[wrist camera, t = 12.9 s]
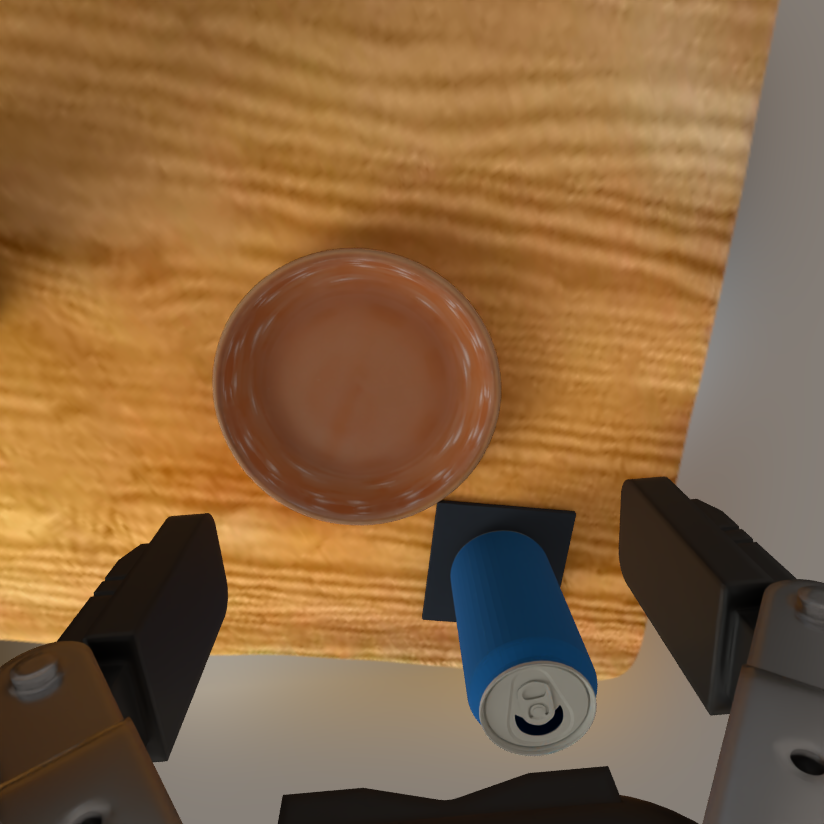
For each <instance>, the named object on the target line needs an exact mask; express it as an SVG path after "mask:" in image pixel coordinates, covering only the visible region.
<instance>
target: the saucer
mask: <svg viewBox="0 0 824 824" xmlns="http://www.w3.org/2000/svg"><path fill="white" fill-rule="evenodd" d="M213 399H214V406H215V411H216V415H217V419H218V422H219V425H220V428H221V431H222V433H223V436H224V438H225V440H226V442H227V445H228V447H229V448H230V450H231V452H232V454H233V455H234V457H235V459H236V460H237V462H238V463H239V465H240V466H241V467H242V469H243V470H244V471H245V472H246V474H247V475H248V476H249V477H250V478H251V479H252V480H253V481H254V482H255V483H256V484H257V485H258V486H259V487H260V488H261V489H262V490H263V491H265V492H266V493H267V494H268V495H269V496H271V497H272V498H274V499H275V500H277V501H278V502H280V503H281V504H283V505H285V506H286V507H288V508H290V509H292V510H294V511H296V512H298V513H301V514H303V515H305V516H308V517H311V518H314V519H317V520H321V521H325V522H330V523H336V524H344V525H373V524H381V523H387V522H392V521H396V520H400V519H403V518H406V517H409V516H412V515H414V514H417V513H419V512H421V511H423V510H425V509H427V508H429V507H431V506H433V505H434V504H436V503H438V502H439V501H441V500H442V499H444V498H445V497H446V496H448V495H449V494H450V493H451V492H453V491H454V490H455V489H456V488H457V487H458V486H459V485H460V484H461V483H462V482H463V481H464V480H465V479H466V478H467V477H468V476H469V475H470V474H471V472H472V471H473V470H474V468H475V467H476V466H477V464H478V463H479V461H480V460H481V458H482V457H483V455H484V453H485V451H486V449H487V447H488V445H489V443H490V441H491V438H492V436H493V433H494V430H495V427H496V423H497V420H498V415H499V410H500V402H501V375H500V368H499V363H498V358H497V354H496V351H495V348H494V345H493V342H492V339H491V337H490V334H489V332H488V330H487V328H486V326H485V324H484V323H483V321H482V319H481V317H480V316H479V314H478V313H477V311H476V310H475V309H474V307H473V306H472V305H471V303H470V302H469V301H468V300H467V299H466V298H465V296H464V295H463V294H462V293H461V292H460V291H459V290H458V289H456V288H455V287H454V286H453V285H452V284H451V283H449V282H448V281H447V280H446V279H445V278H443V277H442V276H440V275H439V274H437V273H436V272H434V271H432V270H431V269H429V268H427V267H425V266H423V265H422V264H420V263H418V262H415V261H413V260H410V259H408V258H405V257H402V256H399V255H396V254H392V253H389V252H385V251H380V250H374V249H365V248H341V249H333V250H326V251H321V252H318V253H314V254H310V255H307V256H304V257H301V258H299V259H296V260H294V261H292V262H290V263H288V264H286V265H284V266H282V267H280V268H278V269H277V270H275V271H274V272H272V273H271V274H269V275H268V276H266V277H265V278H264V279H262V280H261V281H260V282H259V283H258V284H256V285H255V286H254V287H253V288H252V289H251V290H250V291H249V292H248V293H247V295H246V296H245V297H244V298H243V299H242V300H241V302H240V303H239V304H238V305H237V307H236V308H235V310H234V311H233V313H232V314H231V316H230V318H229V319H228V321H227V323H226V325H225V328H224V330H223V332H222V335H221V338H220V341H219V343H218V347H217V351H216V355H215V360H214V367H213Z"/></svg>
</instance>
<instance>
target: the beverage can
mask: <svg viewBox="0 0 824 824" xmlns="http://www.w3.org/2000/svg"><path fill="white" fill-rule="evenodd" d="M450 576H451V586H452V593H453V600H454V607H455V614H456V621H457V628H458V635H459V642H460V649H461V656H462V663H463V670H464V676H465V684H466V691H467V698H468V702H469V706H470V709H471V711H472V713H473V715H474V716H475V718H476V719H477V721H478V722H479V723H480V724H481V725H482V728H483V730H484V731H485V733H486V735H487V736H488V737H489V739H490V740H491V741H492V742H493V743H494V744H496V745H497V746H499V747H500V748H502V749H504V750H506V751H509V752H511V753H515V754H519V755H525V756H541V755H547V754H552V753H555V752H558V751H561V750H563V749H565V748H567V747H569V746H571V745H572V744H574V743H575V742H577V741H578V740H579V739H580V738H581V737H582V736H583V735H584V734H585V733H586V732H587V731H588V729H589V728H590V726H591V725H592V723H593V720H594V718H595V714H596V706H597V705H596V694H597V676H596V672H595V669H594V667H593V664H592V662H591V660H590V657H589V655H588V653H587V650H586V648H585V645H584V643H583V641H582V638H581V636H580V634H579V631H578V629H577V627H576V624H575V622H574V620H573V617H572V615H571V612H570V610H569V608H568V605H567V603H566V601H565V598H564V596H563V594H562V591H561V589H560V587H559V584H558V582H557V579H556V577H555V575H554V572H553V570H552V568H551V565H550V563H549V561H548V558H547V556H546V554H545V552H544V551H543V549H542V548H541V547H540V546H539V544H538V543H536V542H535V541H534V540H533V539H531V538H530V537H528V536H526V535H524V534H521V533H518V532H513V531H493V532H488V533H485V534H482V535H480V536H477V537H476V538H474V539H472V540H471V541H469V542H468V543H467V544H466V545H465V546H463V547H462V549H461V550H460V551H459V552H458V554H457V555H456V557H455V559H454V561H453V564H452V568H451V574H450Z"/></svg>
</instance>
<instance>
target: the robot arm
mask: <svg viewBox="0 0 824 824" xmlns="http://www.w3.org/2000/svg"><path fill="white" fill-rule="evenodd" d="M619 561H620V567H621V571H622V574H623V577H624V579H625V582H626V583H627V585H628V587H629V588H630V590H631V591H632V593H633V594H634V596H635V598H636V599H637V601H638V602H639V604H640V606H641V607H642V609H643V610H644V612H645V613H646V615H647V617H648V618H649V620H650V621H651V623H652V624H653V626H654V627H655V629H656V631H657V632H658V634H659V635H660V637H661V639H662V640H663V642H664V643H665V645H666V646H667V648H668V650H669V651H670V653H671V654H672V656H673V657H674V659H675V660H676V662H677V664H678V665H679V667H680V668H681V670H682V672H683V673H684V675H685V676H686V678H687V680H688V681H689V682H690V684H691V686H692V687H693V689H694V691H695V692H696V694H697V695H698V696H699V698H700V700H701V701H702V703H703V705H704V706H705V708H706V710H707V711H708V712H709V714H710V715H722V714H730V716H729V719H728V724H727V727H726V731H725V736H724V740H723V743H722V748H721V752H720V755H719V760H718V763H717V768H716V772H715V776H714V780H713V784H712V788H711V792H710V796H709V800H708V804H707V808H706V812H705V816H704V820H703V824H824V583H822V582H817V581H812V580H803V579H796V578H795V577H794V576H793V575H792V574H791V573H790V572H789V571H788V570H786V569H785V568H784V567H783V566H782V565H781V564H780V563H779V562H778V561H777V560H775V559H774V558H773V557H772V556H771V555H770V554H769V553H768V552H767V551H765V550H764V549H763V548H762V547H761V546H760V545H759V544H758V543H757V542H753V539H752V538H751V537H750V536H749V535H748V534H747V533H746V532H744V530H742V529H739V526H738V525H737V524H736V523H735V522H734V521H733V520H731V519H730V518H729V517H728V516H727V515H726V514H725V513H724V512H723V511H721V510H719V509H717V508H715V507H713V506H711V505H708V504H707V503H704V502H702V501H700V500H698V499H689V498H688V497H687V496H686V495H685V494H684V493H683V492H682V491H681V490H680V489H679V488H678V487H677V486H676V485H675V484H674V483H673V482H672V481H671V480H670V479H668V478H667V477H652V478H640V479H628V480H625V482H624V483H623V486H622V491H621V510H620V532H619ZM227 602H228V587H227V580H226V575H225V570H224V565H223V560H222V555H221V550H220V545H219V540H218V535H217V530H216V526H215V522H214V519H213V517H212V516H211V515H210V514H209V513H205V514H192V515H180V516H170V517H168V518H167V519H166V520H165V522H164V523H163V525H162V526H161V528H160V529H159V530H158V532H157V533H156V535H155V536H154V537H153V539H152V540H151V542H150V543H148V544H140V545H139V546H138V547H136V548H135V549H133V550H132V551H131V552H129V553H128V554H127V555H125V556H124V557H122V558H121V559H120V560H118V562H117V563H116V564H115V566H114V567H113V568H112V569H111V571H110V572H109V573H108V575H107V576H106V577H105V581H103V582H102V583H101V584H100V585H99V587H98V588H97V589H96V591H95V592H94V596H93V597H90V598H89V600H88V601H87V602H86V604H85V605H84V606H83V608H82V609H81V610H80V612H79V613H78V614H77V616H76V617H75V618H74V619H73V621H72V622H71V623H70V625H69V626H68V627H67V629H66V630H65V631H64V633H63V634H62V635H61V637H60V638H59V639H58V641H57V642H54V643H49V644H45V645H42V646H39V647H36V648H34V649H31V650H29V651H27V652H25V653H22V654H20V655H18V656H17V657H15V658H13V659H11V660H10V661H8V662H7V663H5V664H4V665H2V666H1V667H0V824H182V821H181V819H180V817H179V815H178V813H177V811H176V809H175V807H174V805H173V803H172V801H171V799H170V797H169V795H168V793H167V791H166V789H165V787H164V785H163V783H162V780H161V778H160V776H159V775H158V772H157V770H156V768H155V766H154V764H153V762H163V761H168V758H169V756H170V753H171V751H172V748H173V745H174V743H175V740H176V738H177V736H178V733H179V730H180V728H181V725H182V723H183V720H184V718H185V715H186V713H187V710H188V708H189V705H190V703H191V700H192V698H193V695H194V693H195V690H196V688H197V685H198V683H199V680H200V678H201V675H202V673H203V670H204V667H205V665H206V662H207V660H208V657H209V655H210V652H211V650H212V647H213V645H214V642H215V640H216V637H217V635H218V632H219V630H220V627H221V625H222V622H223V620H224V617H225V614H226V610H227ZM278 824H698V823H696V822H695V821H693V820H691V819H689V818H687V817H685V816H682V815H681V814H678V813H677V812H674V811H672V810H670V809H667V808H665V807H662V806H659V805H657V804H654V803H651V802H648V801H644V800H640V799H637V798H633V797H628V796H622V795H619V793H618V790H617V787H616V785H615V782H614V780H613V777H612V775H611V772H610V770H609V767H608V766H605V767H593V768H581V769H571V770H559V771H548V772H537V773H528V774H525V775H522V776H519V777H516V778H513V779H511V780H508V781H505V782H502V783H499V784H496V785H493V786H491V787H488V788H485V789H482V790H479V791H476V792H474V793H471V794H468V795H465V796H462V797H459V798H456V799H452V800H436V799H430V798H424V797H418V796H411V795H405V794H399V793H392V792H386V791H379V790H373V789H367V788H357V789H346V790H334V791H323V792H312V793H300V794H289V795H283V797H282V803H281V808H280V815H279V820H278Z"/></svg>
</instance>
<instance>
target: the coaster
mask: <svg viewBox="0 0 824 824" xmlns="http://www.w3.org/2000/svg"><path fill="white" fill-rule="evenodd" d="M575 517H576V513H575V511H565V510H553V509H541V508H529V507H517V506H505V505H493V504H480V503H468V502H456V501H444V500H441V501H439V502H438V503H437V508H436V515H435V523H434V531H433V538H432V546H431V553H430V561H429V569H428V576H427V584H426V591H425V599H424V607H423V614H422V619H423V620H435V621H449V622H457V621H456V614H455V607H454V600H453V593H452V586H451V576H450V574H451V568H452V564H453V561H454V559H455V557H456V555H457V554H458V552H459V551H460V550H461V549H462V547H463V546H465V545H466V544H467V543H468V542H469V541H471V540H472V539H474V538H476V537H477V536H480V535H482V534H485V533H488V532H493V531H513V532H518V533H521V534H524V535H526V536H528V537H530V538H531V539H533V540H534V541H535V542H536V543H538V544H539V546H540V547H541V548H542V549H543V551H544V552H545V554H546V556H547V558H548V561H549V563H550V565H551V568H552V570H553V572H554V575H555V577H556V579H557V582H558V584H559V587H560V586H561V582H562V577H563V572H564V568H565V563H566V559H567V554H568V549H569V545H570V540H571V536H572V531H573V526H574V522H575Z"/></svg>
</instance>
